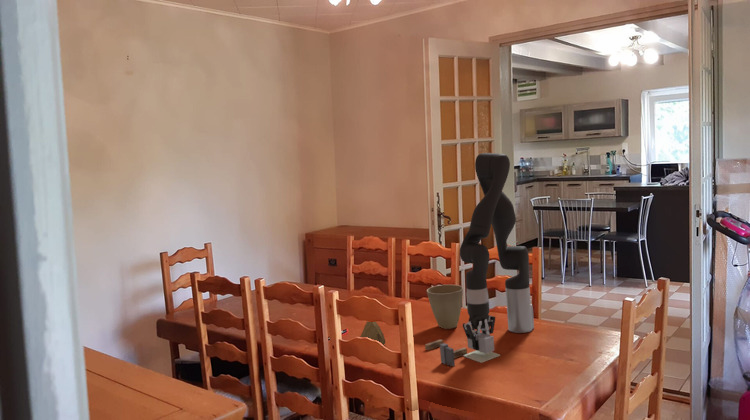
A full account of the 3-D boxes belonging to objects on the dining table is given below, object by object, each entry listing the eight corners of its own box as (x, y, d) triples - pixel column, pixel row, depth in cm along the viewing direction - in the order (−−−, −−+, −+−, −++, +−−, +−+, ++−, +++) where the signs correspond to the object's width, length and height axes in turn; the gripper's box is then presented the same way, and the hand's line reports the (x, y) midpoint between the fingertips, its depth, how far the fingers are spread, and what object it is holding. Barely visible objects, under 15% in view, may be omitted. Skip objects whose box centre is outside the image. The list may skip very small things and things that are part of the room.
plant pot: (440, 319, 245) (437, 283, 244) (472, 323, 237) (469, 285, 235) (423, 329, 233) (420, 292, 232) (455, 333, 225) (452, 294, 223)
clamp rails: (440, 344, 214) (440, 339, 214) (467, 353, 202) (466, 348, 202) (425, 349, 210) (424, 344, 210) (451, 359, 198) (450, 354, 198)
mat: (481, 349, 205) (481, 348, 205) (500, 355, 197) (499, 354, 197) (463, 356, 200) (463, 355, 200) (481, 362, 192) (481, 361, 192)
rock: (393, 339, 218) (383, 329, 227) (380, 325, 215) (370, 315, 224) (373, 359, 217) (363, 348, 226) (359, 346, 213) (350, 335, 222)
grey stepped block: (445, 361, 197) (444, 343, 196) (455, 365, 192) (454, 346, 192) (441, 363, 195) (439, 344, 195) (451, 367, 191) (449, 348, 190)
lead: (476, 344, 203) (475, 331, 203) (494, 350, 196) (493, 336, 195) (467, 347, 201) (466, 333, 200) (486, 353, 193) (485, 339, 193)
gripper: (469, 306, 190) (473, 356, 191) (500, 297, 197) (503, 345, 199) (455, 302, 196) (458, 350, 197) (484, 294, 204) (488, 340, 205)
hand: (481, 347), depth 198 cm, fingers closed on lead, 4 cm apart
